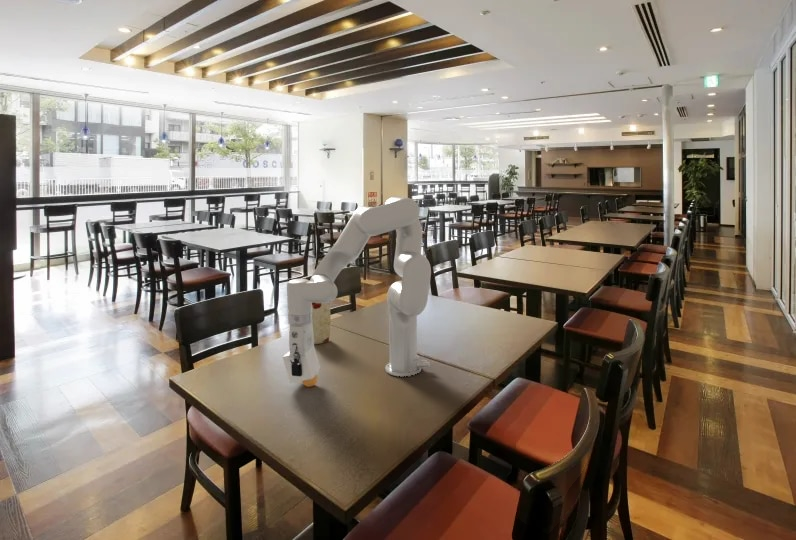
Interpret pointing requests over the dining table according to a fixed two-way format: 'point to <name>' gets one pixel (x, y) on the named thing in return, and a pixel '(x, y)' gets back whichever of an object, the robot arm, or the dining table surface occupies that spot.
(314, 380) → the ball
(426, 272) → the robot arm
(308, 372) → the off-white matte cube
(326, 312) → the food model
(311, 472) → the dining table surface
